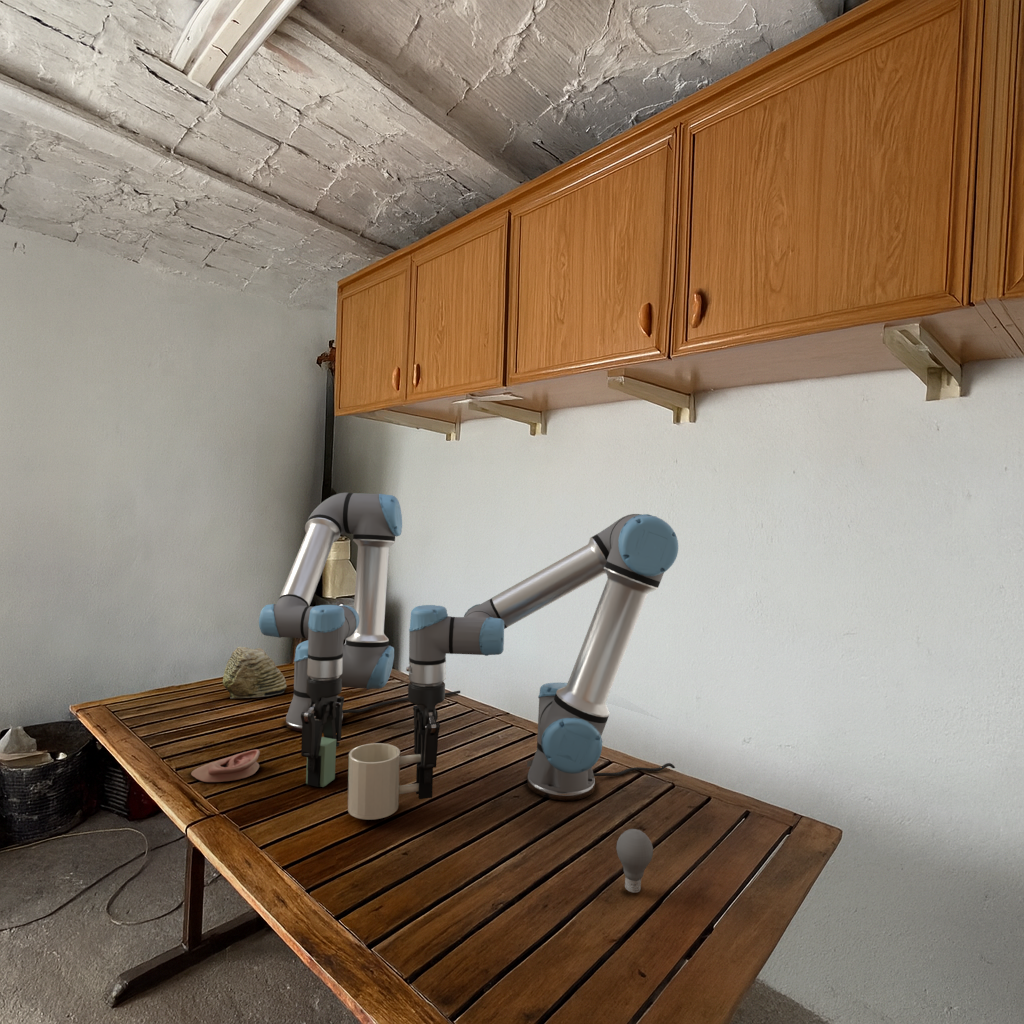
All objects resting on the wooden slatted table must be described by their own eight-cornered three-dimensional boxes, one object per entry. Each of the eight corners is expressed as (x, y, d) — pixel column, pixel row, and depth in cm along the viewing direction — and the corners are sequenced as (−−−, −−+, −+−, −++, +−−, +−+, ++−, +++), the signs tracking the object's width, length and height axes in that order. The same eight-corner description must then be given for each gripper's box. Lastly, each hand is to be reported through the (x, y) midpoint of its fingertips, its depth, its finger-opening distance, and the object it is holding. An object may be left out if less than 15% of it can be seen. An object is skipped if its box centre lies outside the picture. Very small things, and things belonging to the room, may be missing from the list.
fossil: (218, 695, 195) (220, 647, 195) (278, 685, 208) (279, 640, 207) (228, 703, 189) (230, 653, 188) (289, 692, 201) (290, 645, 201)
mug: (351, 823, 120) (352, 765, 120) (344, 799, 130) (346, 746, 129) (434, 810, 126) (436, 755, 126) (423, 788, 136) (424, 737, 135)
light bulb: (610, 879, 108) (613, 822, 108) (644, 879, 109) (647, 822, 109) (619, 902, 102) (622, 840, 102) (655, 901, 103) (658, 840, 103)
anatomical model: (182, 760, 139) (216, 741, 150) (181, 778, 139) (216, 758, 150) (236, 768, 136) (267, 748, 147) (235, 786, 136) (266, 765, 147)
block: (317, 775, 144) (319, 736, 144) (335, 778, 142) (336, 739, 142) (305, 783, 139) (307, 743, 139) (323, 787, 138) (325, 746, 138)
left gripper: (331, 664, 150) (328, 762, 150) (285, 684, 133) (281, 794, 134) (360, 668, 148) (356, 767, 148) (316, 688, 131) (311, 800, 131)
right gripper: (401, 673, 136) (398, 782, 136) (416, 693, 122) (413, 814, 122) (435, 670, 138) (433, 777, 139) (454, 690, 125) (451, 808, 125)
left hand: (320, 780), depth 141 cm, fingers closed on block, 4 cm apart
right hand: (424, 794), depth 131 cm, fingers closed on mug, 2 cm apart
